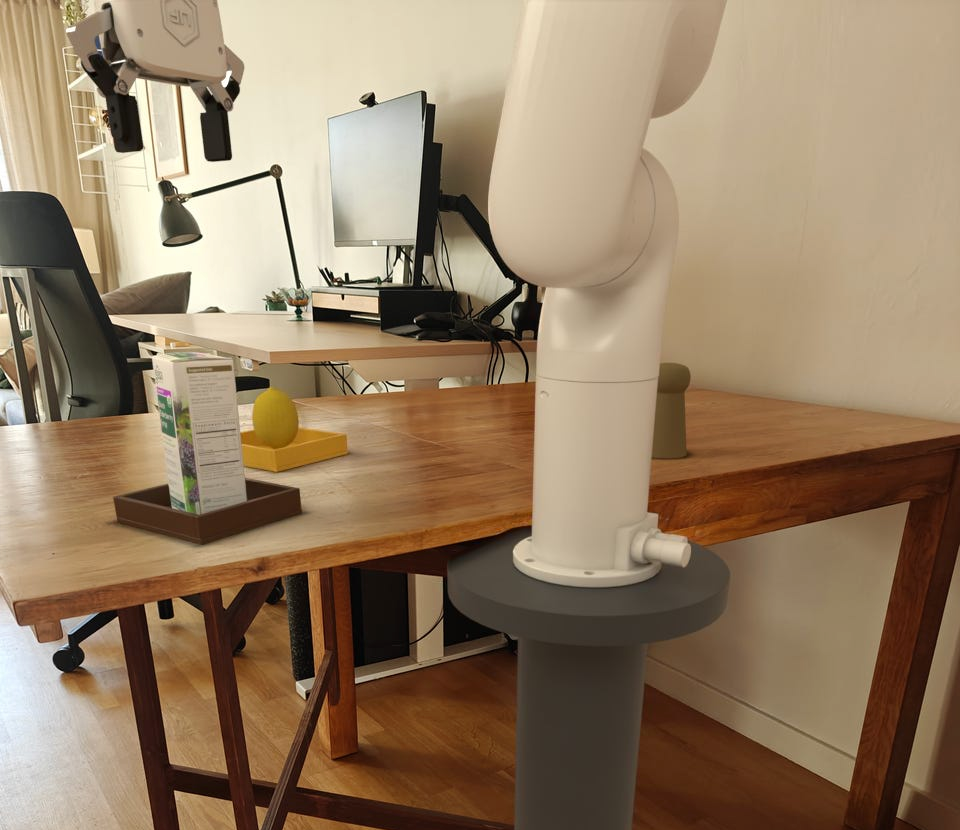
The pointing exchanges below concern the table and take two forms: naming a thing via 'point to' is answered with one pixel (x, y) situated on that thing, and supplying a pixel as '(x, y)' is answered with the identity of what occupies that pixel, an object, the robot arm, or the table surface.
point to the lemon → (275, 418)
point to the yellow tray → (292, 449)
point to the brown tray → (159, 516)
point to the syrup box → (200, 430)
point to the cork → (670, 411)
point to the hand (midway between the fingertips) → (176, 156)
